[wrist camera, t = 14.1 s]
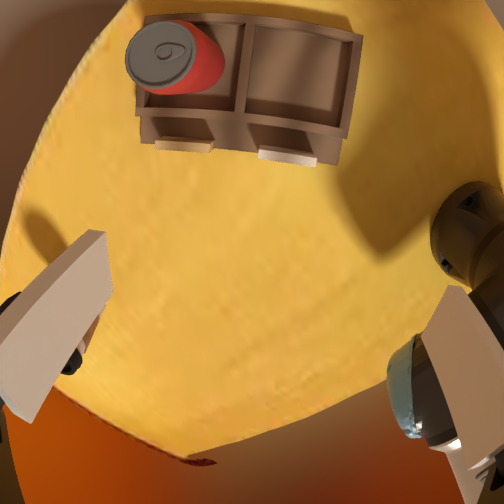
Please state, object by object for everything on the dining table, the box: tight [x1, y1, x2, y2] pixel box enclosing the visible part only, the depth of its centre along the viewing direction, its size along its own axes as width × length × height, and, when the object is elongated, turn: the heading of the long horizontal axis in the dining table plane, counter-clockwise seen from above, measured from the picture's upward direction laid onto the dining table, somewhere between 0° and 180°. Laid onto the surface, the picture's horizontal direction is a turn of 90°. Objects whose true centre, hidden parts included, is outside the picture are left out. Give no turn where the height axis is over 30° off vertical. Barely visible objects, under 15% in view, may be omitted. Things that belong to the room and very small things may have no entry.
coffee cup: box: [61, 304, 106, 375], centre depth 40 cm, size 8×8×15 cm
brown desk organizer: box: [135, 13, 363, 168], centre depth 27 cm, size 23×16×4 cm
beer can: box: [125, 20, 225, 95], centre depth 22 cm, size 7×7×12 cm
